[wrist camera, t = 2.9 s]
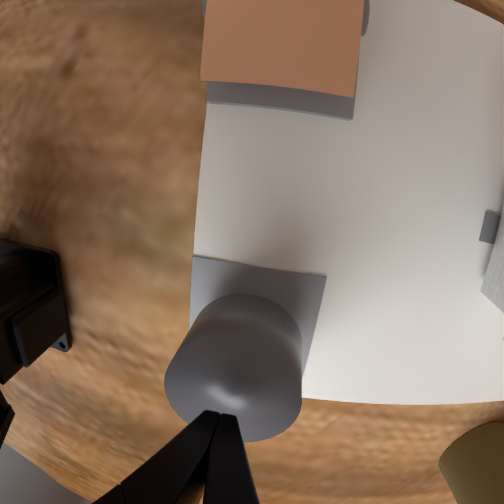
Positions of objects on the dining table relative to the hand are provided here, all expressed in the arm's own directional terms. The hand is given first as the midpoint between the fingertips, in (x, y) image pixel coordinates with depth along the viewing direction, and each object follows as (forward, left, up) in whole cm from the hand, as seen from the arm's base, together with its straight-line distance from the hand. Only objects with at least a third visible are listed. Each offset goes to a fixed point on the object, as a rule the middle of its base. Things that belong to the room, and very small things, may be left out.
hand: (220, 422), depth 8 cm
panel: (+7, +6, -7) cm, 12 cm away
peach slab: (0, +11, -3) cm, 11 cm away
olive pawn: (+18, -10, -8) cm, 22 cm away
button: (0, 0, -4) cm, 4 cm away
